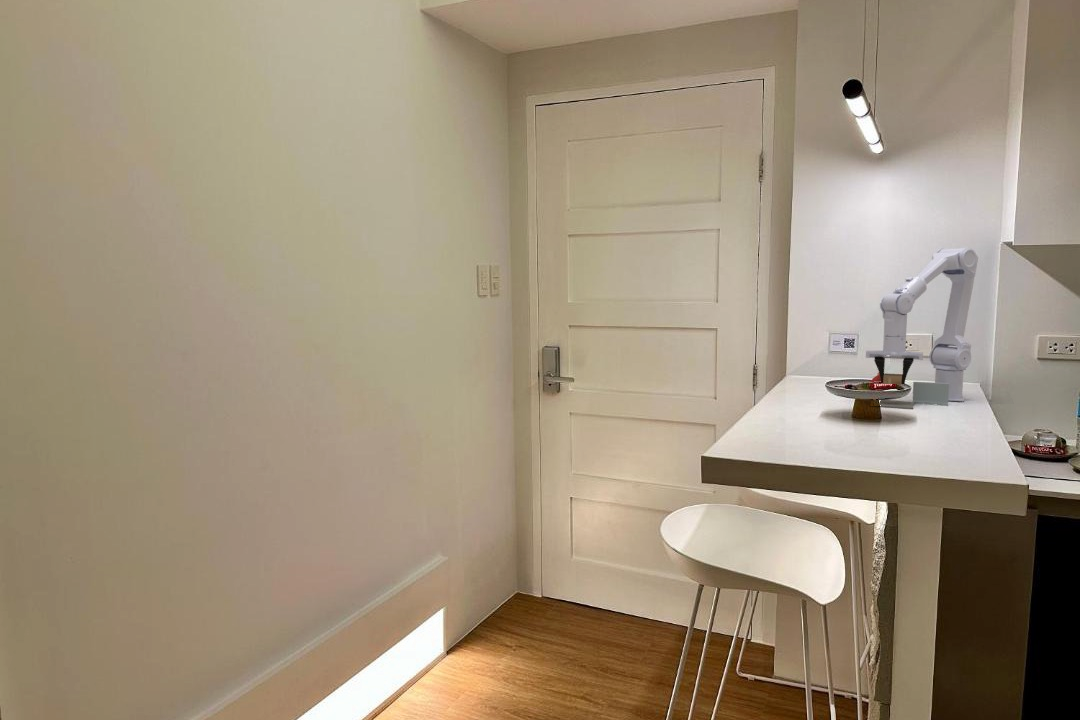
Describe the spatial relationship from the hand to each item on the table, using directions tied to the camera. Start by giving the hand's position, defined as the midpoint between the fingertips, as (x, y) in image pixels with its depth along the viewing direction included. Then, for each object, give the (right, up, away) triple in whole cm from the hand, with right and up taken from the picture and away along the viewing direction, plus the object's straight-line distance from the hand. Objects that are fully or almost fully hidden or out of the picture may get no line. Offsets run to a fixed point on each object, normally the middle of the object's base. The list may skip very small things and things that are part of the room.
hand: (892, 384), depth 213 cm
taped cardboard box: (0, -2, 0) cm, 2 cm away
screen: (+11, -6, +2) cm, 13 cm away
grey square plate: (0, -6, +1) cm, 6 cm away
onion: (+1, -5, +11) cm, 12 cm away
